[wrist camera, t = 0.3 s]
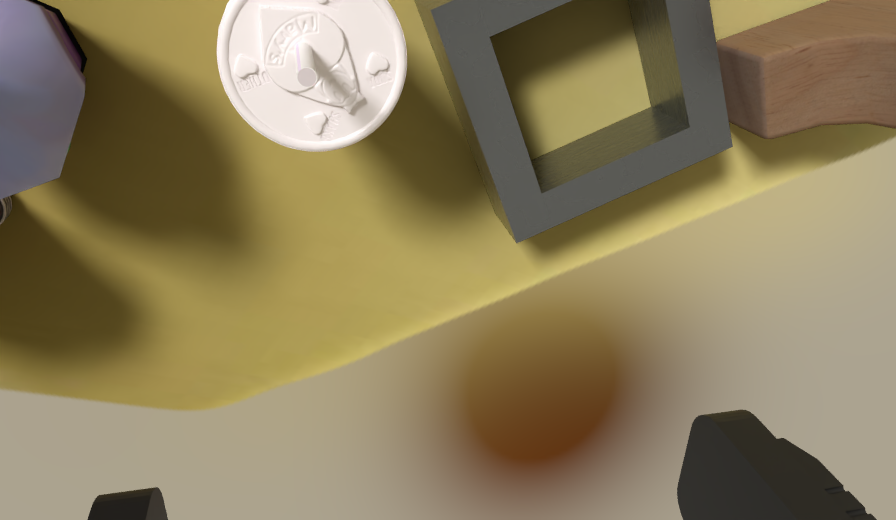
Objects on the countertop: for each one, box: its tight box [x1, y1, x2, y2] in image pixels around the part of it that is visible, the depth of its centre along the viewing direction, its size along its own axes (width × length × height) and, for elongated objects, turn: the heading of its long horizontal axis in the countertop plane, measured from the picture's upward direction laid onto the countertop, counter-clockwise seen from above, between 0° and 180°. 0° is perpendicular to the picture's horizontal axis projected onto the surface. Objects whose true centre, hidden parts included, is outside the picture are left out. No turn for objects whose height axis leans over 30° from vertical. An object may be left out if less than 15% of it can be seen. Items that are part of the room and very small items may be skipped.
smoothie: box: [217, 0, 407, 152], centre depth 25 cm, size 6×6×14 cm
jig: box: [415, 0, 733, 243], centre depth 33 cm, size 12×12×4 cm
